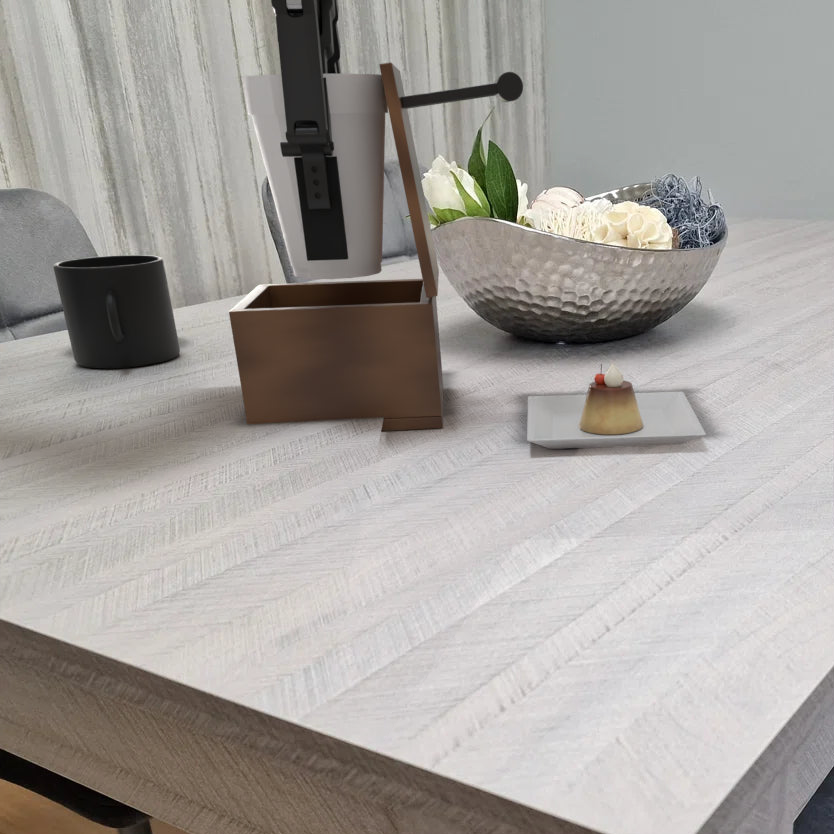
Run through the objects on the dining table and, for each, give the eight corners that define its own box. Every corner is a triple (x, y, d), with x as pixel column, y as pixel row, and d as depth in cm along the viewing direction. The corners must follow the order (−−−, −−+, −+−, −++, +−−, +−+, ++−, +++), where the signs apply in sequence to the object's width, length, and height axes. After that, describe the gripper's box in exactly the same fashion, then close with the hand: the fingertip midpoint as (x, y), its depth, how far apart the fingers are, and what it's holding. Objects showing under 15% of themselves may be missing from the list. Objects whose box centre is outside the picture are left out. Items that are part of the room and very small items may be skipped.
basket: (249, 438, 75) (228, 311, 71) (275, 395, 86) (259, 284, 82) (442, 428, 76) (432, 303, 73) (443, 387, 88) (434, 278, 84)
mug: (67, 379, 93) (43, 274, 89) (80, 353, 103) (58, 258, 99) (179, 370, 96) (160, 267, 92) (181, 345, 106) (164, 252, 102)
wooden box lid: (379, 63, 66) (520, 43, 67) (389, 71, 77) (509, 54, 78) (426, 297, 72) (555, 277, 73) (429, 273, 84) (540, 255, 84)
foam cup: (420, 265, 80) (403, 76, 75) (376, 282, 72) (354, 72, 66) (304, 264, 82) (280, 79, 76) (248, 281, 74) (216, 76, 68)
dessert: (528, 410, 80) (525, 347, 78) (682, 405, 81) (683, 343, 79) (527, 456, 70) (524, 385, 68) (705, 450, 70) (707, 379, 68)
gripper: (334, -155, 57) (378, 268, 67) (363, -85, 77) (393, 234, 87) (193, -157, 56) (257, 273, 66) (259, -86, 76) (301, 236, 86)
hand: (335, 250), depth 76 cm, fingers closed on foam cup, 9 cm apart
